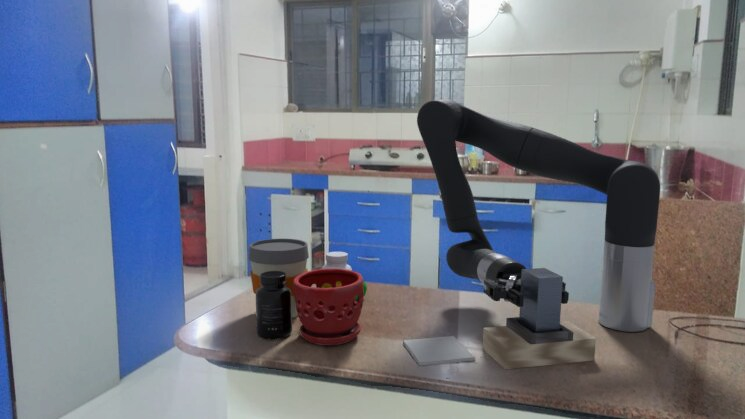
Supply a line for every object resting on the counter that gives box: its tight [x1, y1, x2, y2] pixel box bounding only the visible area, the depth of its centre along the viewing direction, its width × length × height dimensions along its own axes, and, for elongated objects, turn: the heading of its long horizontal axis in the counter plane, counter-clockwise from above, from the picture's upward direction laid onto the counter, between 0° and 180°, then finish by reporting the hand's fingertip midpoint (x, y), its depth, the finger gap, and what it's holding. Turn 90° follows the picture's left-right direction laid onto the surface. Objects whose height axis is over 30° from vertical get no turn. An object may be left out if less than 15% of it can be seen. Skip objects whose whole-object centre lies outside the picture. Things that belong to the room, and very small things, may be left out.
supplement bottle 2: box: [321, 251, 353, 288], centre depth 123 cm, size 7×7×13 cm
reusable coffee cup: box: [248, 238, 310, 319], centre depth 122 cm, size 13×13×15 cm
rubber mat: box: [402, 335, 476, 366], centre depth 104 cm, size 10×10×1 cm
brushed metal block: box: [518, 267, 564, 333], centre depth 101 cm, size 4×6×11 cm
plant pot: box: [293, 268, 364, 346], centre depth 109 cm, size 13×13×12 cm
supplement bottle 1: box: [255, 271, 293, 341], centre depth 110 cm, size 7×7×12 cm
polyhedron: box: [355, 280, 368, 301], centre depth 133 cm, size 5×5×5 cm
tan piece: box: [482, 316, 597, 370], centre depth 102 cm, size 17×9×6 cm, turn 104°
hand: (544, 299), depth 100 cm, fingers open, 8 cm apart
